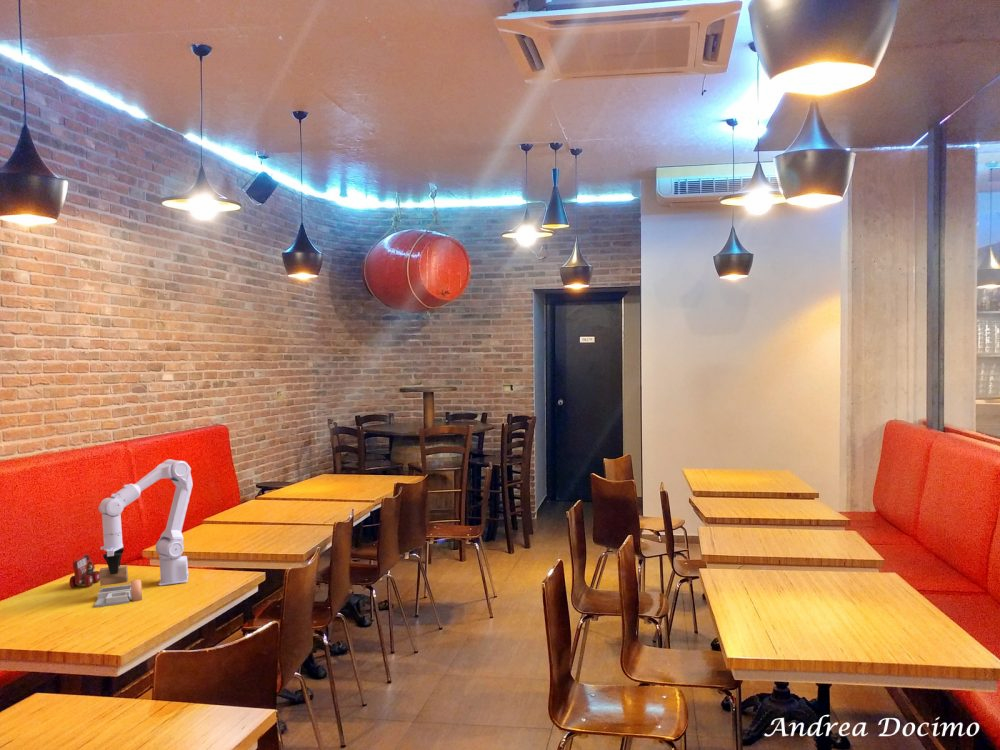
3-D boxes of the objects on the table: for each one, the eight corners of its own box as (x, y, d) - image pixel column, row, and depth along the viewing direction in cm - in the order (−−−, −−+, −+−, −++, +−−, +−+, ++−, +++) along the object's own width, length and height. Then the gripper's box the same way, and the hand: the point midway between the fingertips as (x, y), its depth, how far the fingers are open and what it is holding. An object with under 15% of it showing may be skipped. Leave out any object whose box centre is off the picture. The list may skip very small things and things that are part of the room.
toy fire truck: (103, 579, 292) (102, 551, 291) (86, 589, 279) (84, 560, 279) (85, 579, 292) (83, 552, 291) (66, 590, 279) (65, 561, 279)
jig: (134, 591, 274) (133, 583, 274) (129, 602, 261) (128, 595, 261) (101, 595, 271) (101, 588, 270) (94, 607, 257) (93, 599, 257)
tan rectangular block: (128, 579, 271) (127, 564, 271) (126, 582, 268) (125, 567, 268) (102, 583, 269) (101, 568, 269) (100, 585, 266) (99, 570, 265)
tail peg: (142, 597, 266) (141, 579, 266) (141, 600, 263) (140, 581, 263) (132, 599, 265) (131, 580, 265) (131, 601, 262) (129, 582, 262)
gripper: (103, 530, 274) (105, 568, 274) (95, 539, 260) (98, 579, 260) (125, 527, 276) (127, 565, 276) (119, 536, 262) (121, 576, 263)
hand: (115, 572), depth 269 cm, fingers closed on tan rectangular block, 3 cm apart
